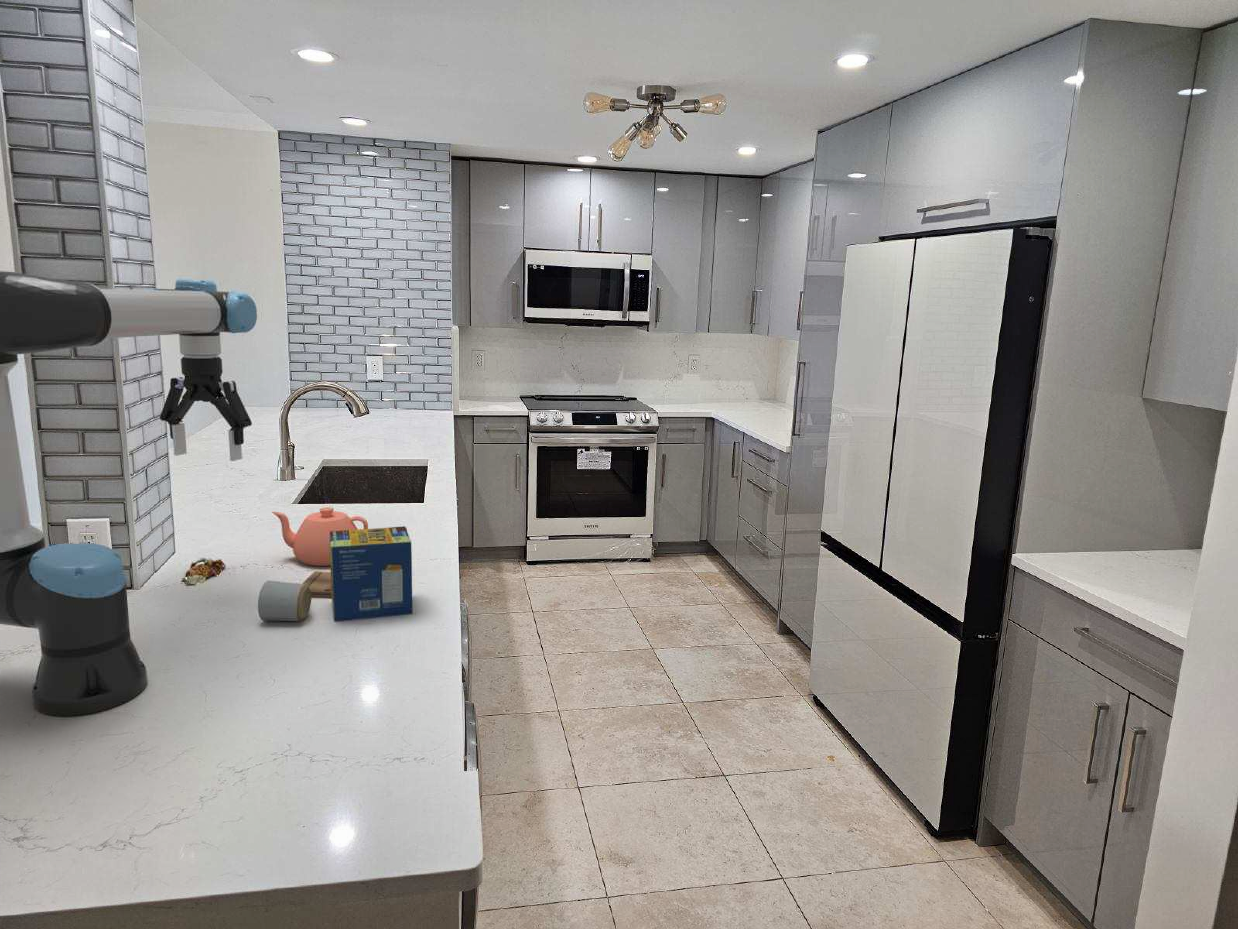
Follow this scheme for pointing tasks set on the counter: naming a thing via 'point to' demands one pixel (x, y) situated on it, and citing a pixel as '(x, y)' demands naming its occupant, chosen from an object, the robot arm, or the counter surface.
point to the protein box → (371, 573)
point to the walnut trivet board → (319, 584)
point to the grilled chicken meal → (202, 570)
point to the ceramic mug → (284, 601)
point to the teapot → (316, 534)
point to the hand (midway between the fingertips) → (208, 457)
